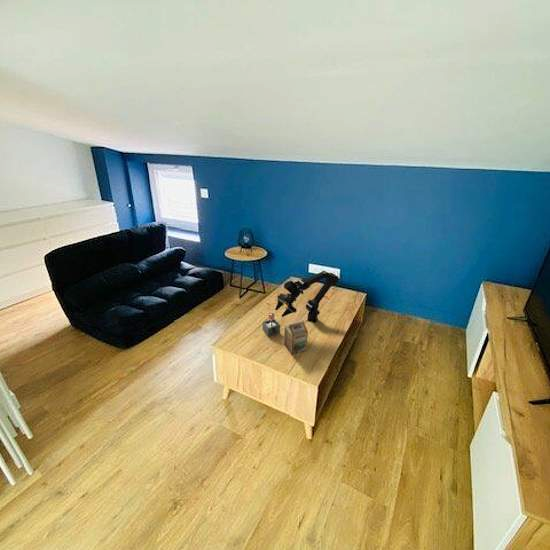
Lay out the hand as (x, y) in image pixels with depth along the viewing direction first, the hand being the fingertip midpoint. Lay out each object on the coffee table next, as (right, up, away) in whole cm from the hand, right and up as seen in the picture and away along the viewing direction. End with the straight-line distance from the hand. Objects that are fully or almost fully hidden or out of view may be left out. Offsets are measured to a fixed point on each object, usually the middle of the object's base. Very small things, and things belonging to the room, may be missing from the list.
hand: (278, 313), depth 199 cm
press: (-5, -13, +2) cm, 14 cm away
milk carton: (+10, -20, -12) cm, 26 cm away
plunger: (-5, -9, +2) cm, 11 cm away
